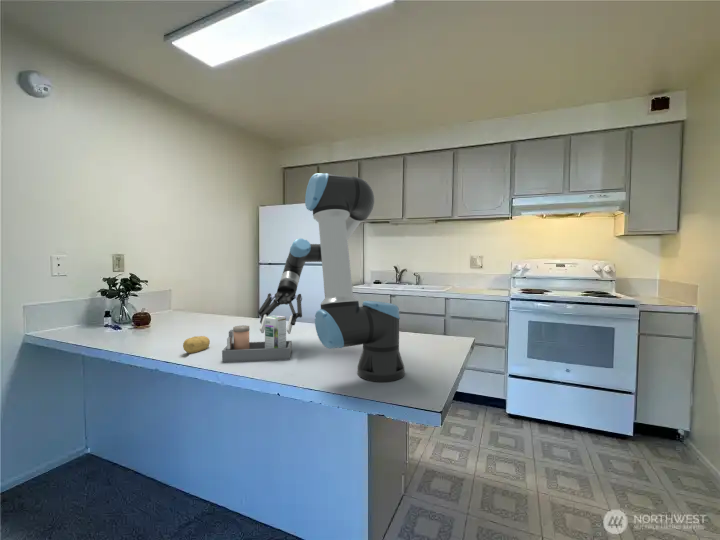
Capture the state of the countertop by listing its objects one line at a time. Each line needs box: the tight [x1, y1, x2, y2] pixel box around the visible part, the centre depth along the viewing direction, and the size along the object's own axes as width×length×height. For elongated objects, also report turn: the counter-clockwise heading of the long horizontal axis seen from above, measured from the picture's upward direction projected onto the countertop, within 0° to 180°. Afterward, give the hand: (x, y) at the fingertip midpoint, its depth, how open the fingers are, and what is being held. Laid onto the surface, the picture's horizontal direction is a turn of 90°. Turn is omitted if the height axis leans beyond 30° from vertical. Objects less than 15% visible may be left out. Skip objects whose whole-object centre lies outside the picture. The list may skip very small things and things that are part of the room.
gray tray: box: [221, 340, 293, 363], centre depth 124 cm, size 23×11×5 cm, turn 98°
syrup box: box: [264, 315, 287, 349], centre depth 125 cm, size 6×6×14 cm
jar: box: [232, 325, 250, 350], centre depth 123 cm, size 6×6×11 cm
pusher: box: [226, 329, 234, 350], centre depth 123 cm, size 1×8×9 cm, turn 7°
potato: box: [182, 335, 211, 354], centre depth 133 cm, size 7×11×6 cm, turn 155°
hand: (274, 331), depth 125 cm, fingers open, 10 cm apart
